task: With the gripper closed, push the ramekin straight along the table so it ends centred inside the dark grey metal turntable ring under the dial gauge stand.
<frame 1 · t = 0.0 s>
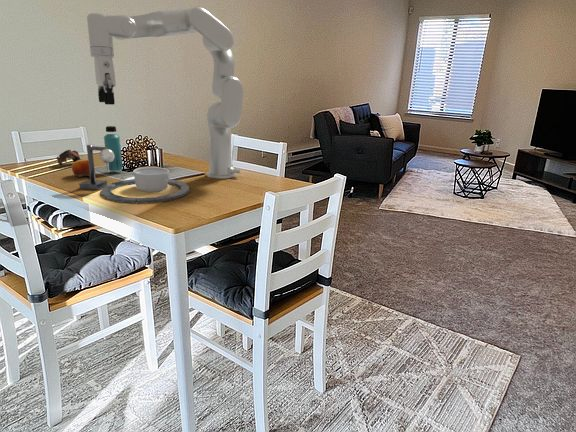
hand: (106, 103, 150), 31 cm above the table, tool pointing down, fingers open, 9 cm apart
turntable ring: (146, 189, 156), point 1 cm above the table, hinge at 0.0°
dial gauge stand: (93, 187, 158), on the table
beverage bottle: (115, 173, 181), on the table
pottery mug: (71, 165, 191), on the table
fruit: (83, 176, 174), on the table
ramekin: (152, 188, 161), resting in turntable ring
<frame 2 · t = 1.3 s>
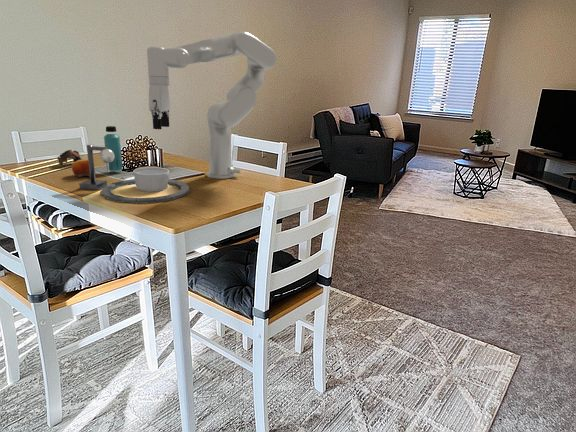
hand: (161, 127, 165), 22 cm above the table, tool pointing down, fingers open, 7 cm apart
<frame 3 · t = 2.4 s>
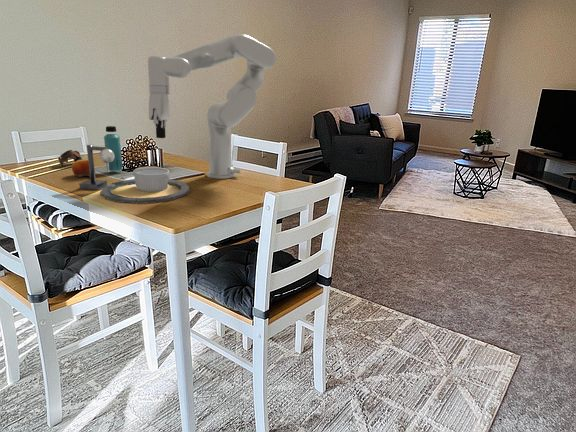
hand: (160, 137, 167), 18 cm above the table, tool pointing down, fingers closed
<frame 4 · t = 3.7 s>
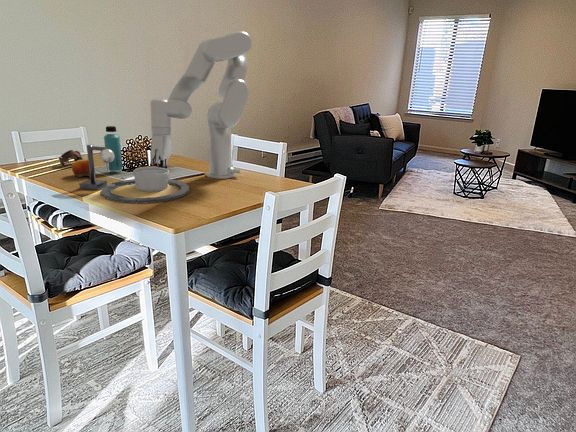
hand: (162, 175, 172), 2 cm above the table, tool pointing down, fingers closed
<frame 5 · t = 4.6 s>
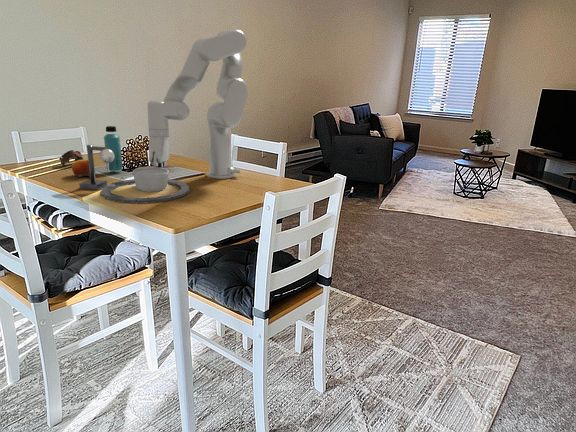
hand: (161, 178, 169), 2 cm above the table, tool pointing down, fingers closed
ramekin: (151, 188, 161), resting in turntable ring, touching gripper
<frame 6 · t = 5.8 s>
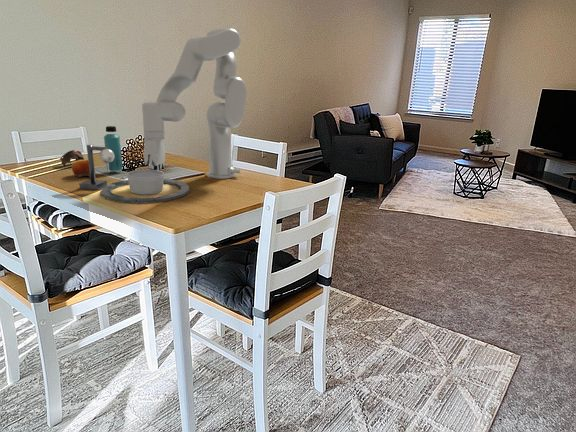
hand: (157, 181, 165), 1 cm above the table, tool pointing down, fingers closed
ramekin: (146, 191, 157), resting in turntable ring, touching gripper
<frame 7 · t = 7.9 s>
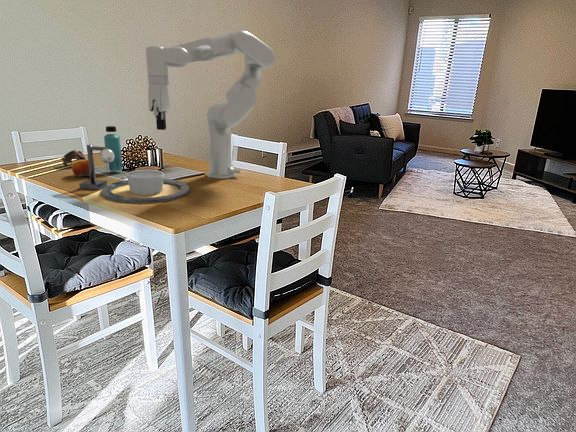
hand: (161, 129, 164), 21 cm above the table, tool pointing down, fingers closed
ramekin: (146, 192, 157), resting in turntable ring
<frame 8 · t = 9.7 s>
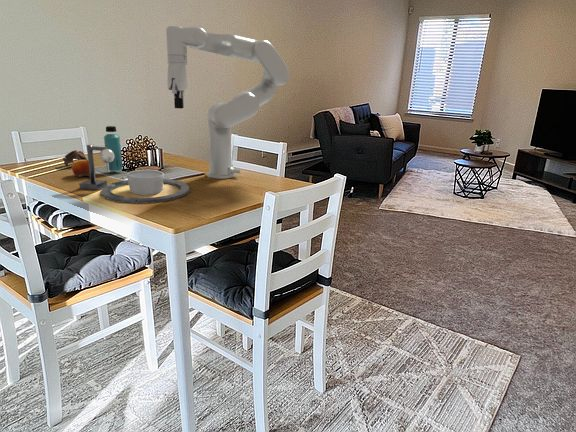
hand: (179, 108, 169), 29 cm above the table, tool pointing down, fingers closed
at the end: ramekin 0.1 cm from the turntable ring (horizontally); ramekin tilted 0°; ramekin touching table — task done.
